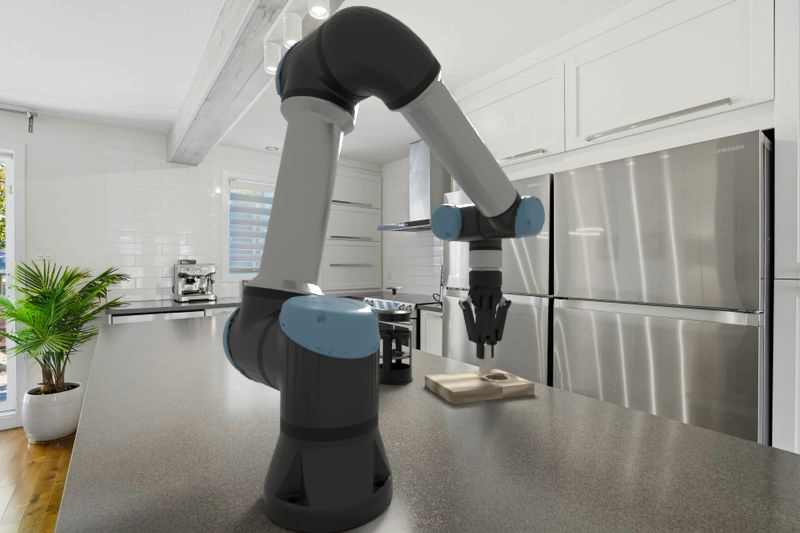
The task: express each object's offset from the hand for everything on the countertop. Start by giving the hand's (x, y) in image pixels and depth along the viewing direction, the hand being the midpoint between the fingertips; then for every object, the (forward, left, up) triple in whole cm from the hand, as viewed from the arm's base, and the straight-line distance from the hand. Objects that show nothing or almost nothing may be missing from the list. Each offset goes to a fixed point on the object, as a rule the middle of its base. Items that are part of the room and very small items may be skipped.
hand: (485, 372), depth 94 cm
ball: (0, -4, -2) cm, 4 cm away
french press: (+14, +17, -4) cm, 23 cm away
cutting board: (0, +2, -4) cm, 4 cm away
